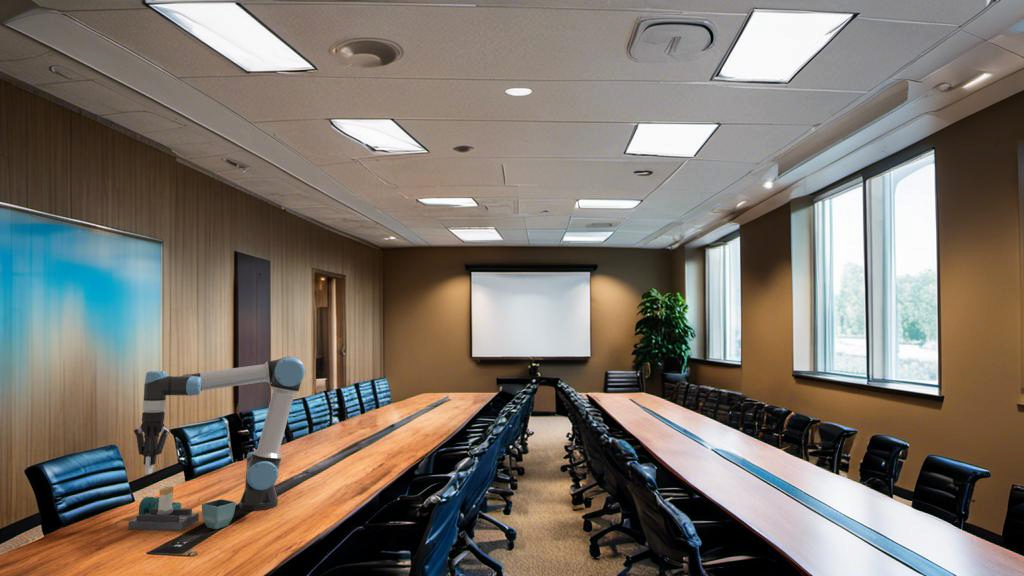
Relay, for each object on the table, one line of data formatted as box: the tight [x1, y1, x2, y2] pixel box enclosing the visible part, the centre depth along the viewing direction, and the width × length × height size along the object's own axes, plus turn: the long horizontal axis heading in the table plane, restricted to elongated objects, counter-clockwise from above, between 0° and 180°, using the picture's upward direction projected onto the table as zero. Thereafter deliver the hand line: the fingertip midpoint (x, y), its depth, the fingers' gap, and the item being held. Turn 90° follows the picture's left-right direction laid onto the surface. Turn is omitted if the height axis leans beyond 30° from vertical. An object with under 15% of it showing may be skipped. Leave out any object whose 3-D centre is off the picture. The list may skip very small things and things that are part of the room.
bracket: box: [138, 496, 182, 515], centre depth 247 cm, size 18×7×8 cm, turn 172°
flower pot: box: [201, 498, 237, 530], centre depth 230 cm, size 9×9×9 cm
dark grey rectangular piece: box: [136, 508, 193, 522], centre depth 231 cm, size 15×11×2 cm
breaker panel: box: [127, 512, 200, 531], centre depth 231 cm, size 20×12×3 cm, turn 90°
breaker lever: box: [156, 486, 174, 515], centre depth 231 cm, size 3×6×10 cm, turn 0°
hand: (148, 473), depth 232 cm, fingers closed
